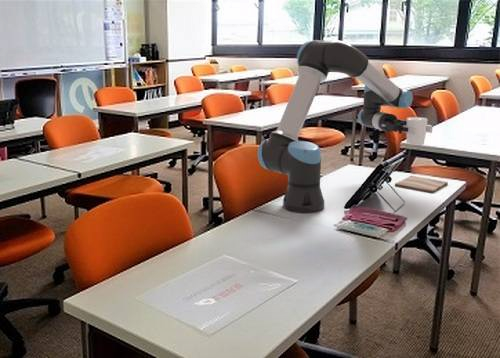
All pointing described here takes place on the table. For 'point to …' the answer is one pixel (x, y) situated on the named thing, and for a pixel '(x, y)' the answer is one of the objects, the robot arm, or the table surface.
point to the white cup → (420, 130)
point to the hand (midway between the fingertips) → (423, 130)
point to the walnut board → (421, 184)
